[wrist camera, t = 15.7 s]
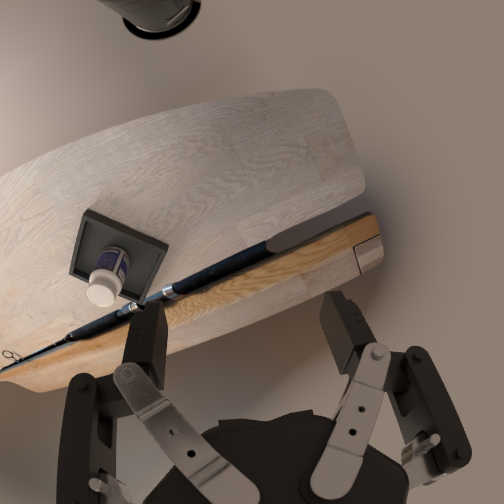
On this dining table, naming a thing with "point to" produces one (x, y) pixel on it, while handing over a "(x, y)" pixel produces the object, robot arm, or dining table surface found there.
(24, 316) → the dining table surface
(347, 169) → the dining table surface
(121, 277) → the pill bottle
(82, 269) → the serving tray
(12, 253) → the dining table surface
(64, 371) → the dining table surface
